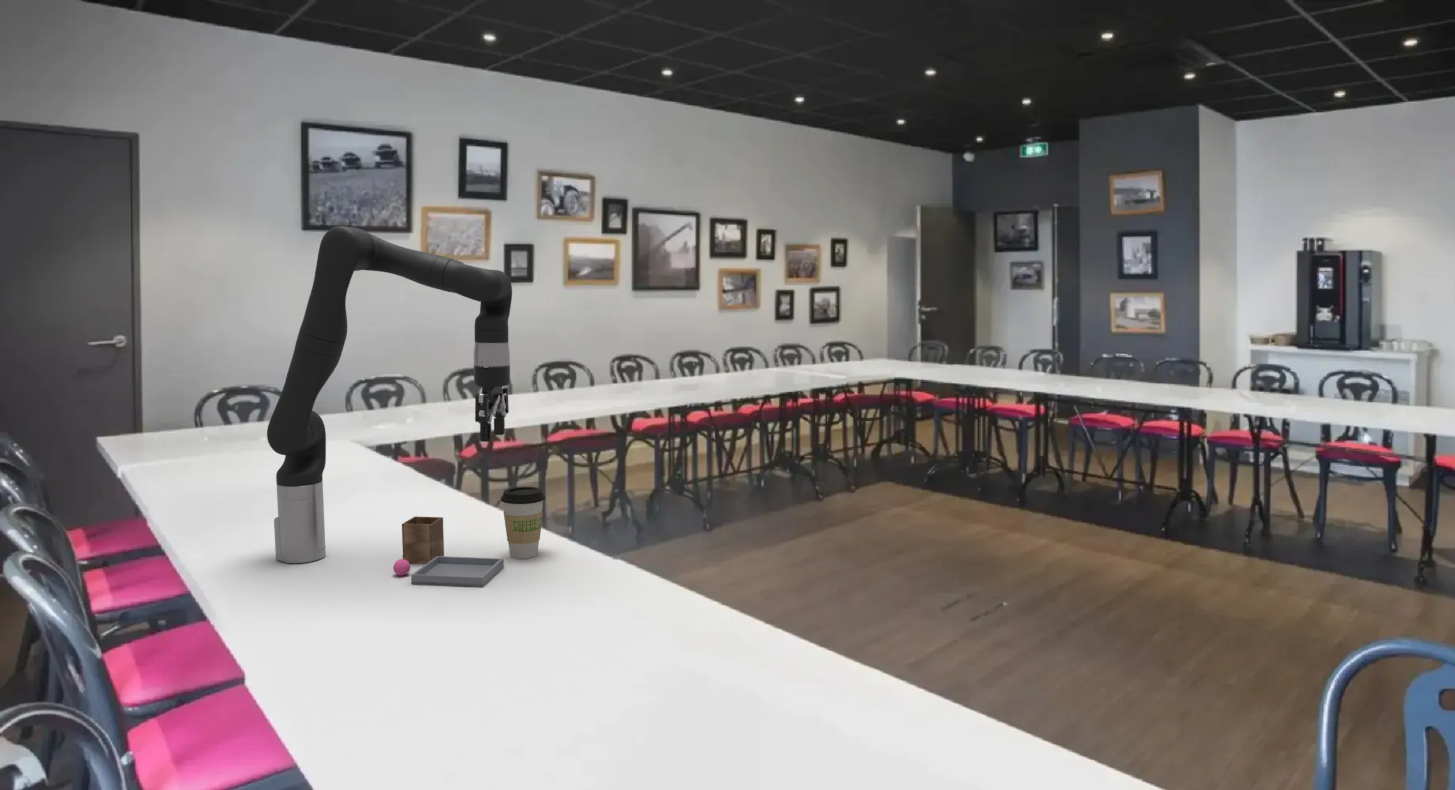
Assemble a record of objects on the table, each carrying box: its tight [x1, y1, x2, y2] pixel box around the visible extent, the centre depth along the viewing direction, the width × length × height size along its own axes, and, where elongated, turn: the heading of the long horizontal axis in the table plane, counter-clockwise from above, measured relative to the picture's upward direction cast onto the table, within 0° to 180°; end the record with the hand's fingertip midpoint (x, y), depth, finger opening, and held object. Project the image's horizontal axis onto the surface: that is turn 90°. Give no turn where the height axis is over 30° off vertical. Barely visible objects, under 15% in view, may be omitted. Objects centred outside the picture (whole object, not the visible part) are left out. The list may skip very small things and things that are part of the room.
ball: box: [392, 558, 411, 576], centre depth 186 cm, size 3×3×3 cm
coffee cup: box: [500, 486, 546, 560], centre depth 201 cm, size 10×10×15 cm
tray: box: [410, 555, 505, 588], centre depth 186 cm, size 15×13×2 cm
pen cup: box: [401, 515, 445, 565], centre depth 197 cm, size 7×7×9 cm
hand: (492, 437), depth 191 cm, fingers open, 8 cm apart
